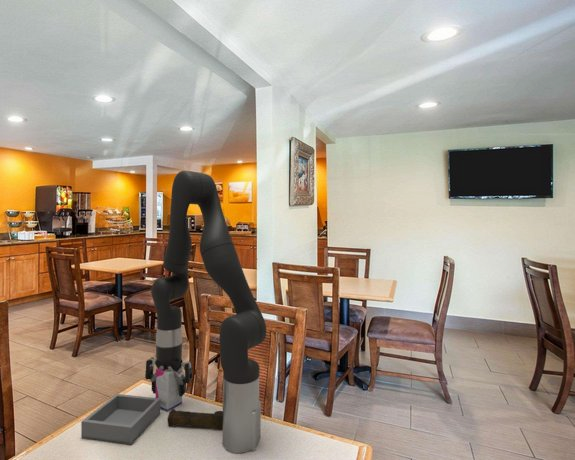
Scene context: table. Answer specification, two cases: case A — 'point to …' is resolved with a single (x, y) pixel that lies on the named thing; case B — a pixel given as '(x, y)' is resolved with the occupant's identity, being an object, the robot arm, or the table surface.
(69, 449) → the table surface
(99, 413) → the bin
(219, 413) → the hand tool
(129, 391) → the table surface
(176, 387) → the supplement box
